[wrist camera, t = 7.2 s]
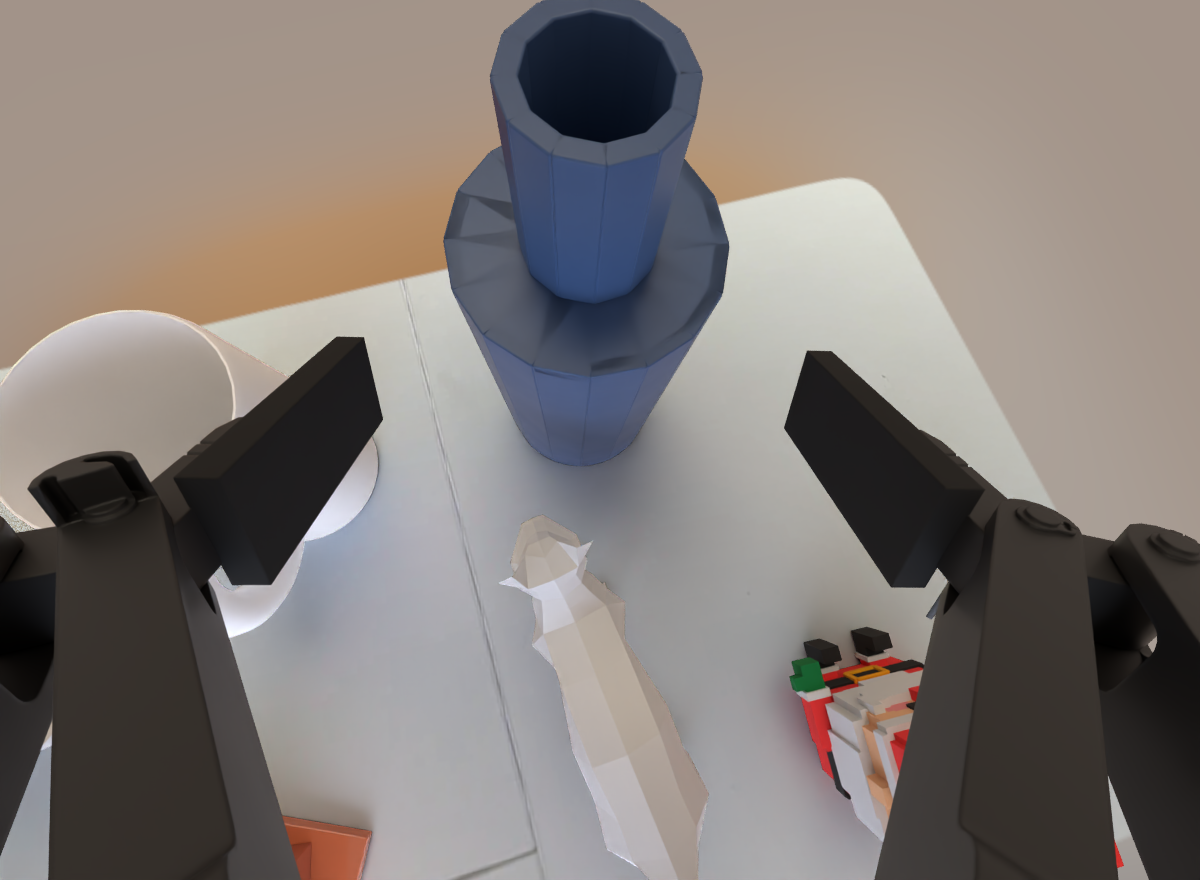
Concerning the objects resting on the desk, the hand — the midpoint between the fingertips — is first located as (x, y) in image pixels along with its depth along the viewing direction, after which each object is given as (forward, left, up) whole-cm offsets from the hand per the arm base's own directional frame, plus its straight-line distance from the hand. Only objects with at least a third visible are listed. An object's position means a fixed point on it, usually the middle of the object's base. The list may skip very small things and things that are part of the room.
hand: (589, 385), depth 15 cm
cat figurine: (+4, -12, -14) cm, 19 cm away
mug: (-15, -5, -14) cm, 21 cm away
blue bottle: (-1, +4, -14) cm, 15 cm away
